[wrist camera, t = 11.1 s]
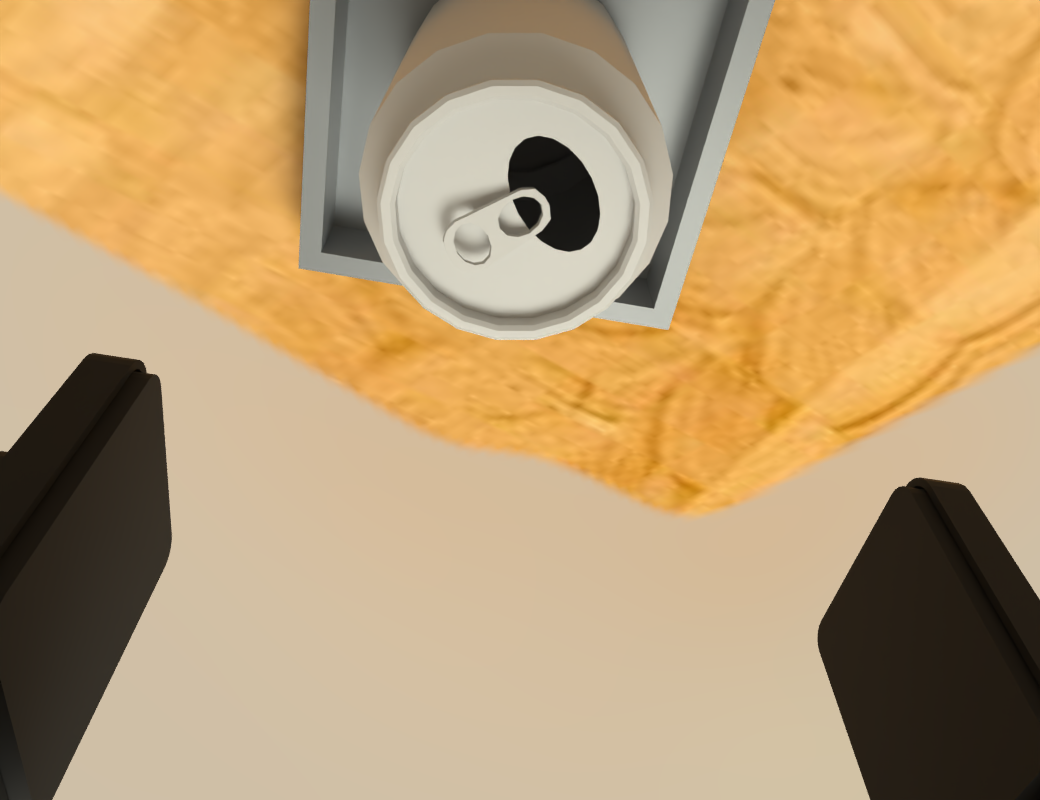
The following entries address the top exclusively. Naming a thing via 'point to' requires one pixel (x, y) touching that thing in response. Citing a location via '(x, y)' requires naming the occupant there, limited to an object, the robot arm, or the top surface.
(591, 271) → the can
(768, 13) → the bin
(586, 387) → the top surface
